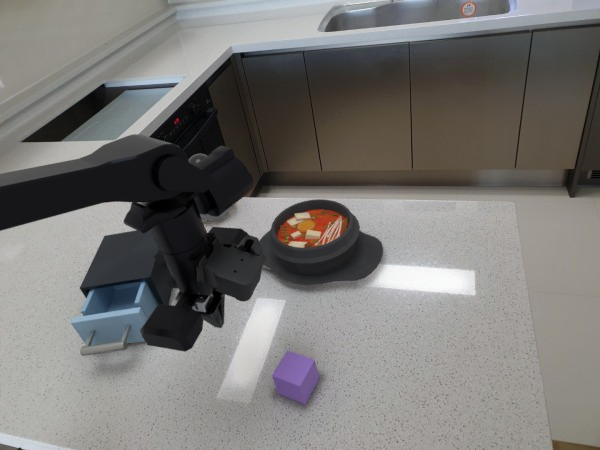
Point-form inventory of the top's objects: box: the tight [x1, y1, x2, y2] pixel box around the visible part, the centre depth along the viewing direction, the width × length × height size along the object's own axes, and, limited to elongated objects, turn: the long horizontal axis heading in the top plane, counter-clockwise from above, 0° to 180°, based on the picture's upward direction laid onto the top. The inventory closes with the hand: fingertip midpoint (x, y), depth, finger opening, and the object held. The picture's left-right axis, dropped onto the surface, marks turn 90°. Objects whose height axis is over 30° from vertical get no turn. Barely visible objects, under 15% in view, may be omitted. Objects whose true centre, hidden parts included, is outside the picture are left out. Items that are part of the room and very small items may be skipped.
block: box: [271, 349, 320, 405], centre depth 65 cm, size 4×4×4 cm
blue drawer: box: [70, 281, 159, 357], centre depth 79 cm, size 18×11×7 cm, turn 2°
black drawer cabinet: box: [79, 230, 174, 305], centre depth 87 cm, size 15×13×9 cm
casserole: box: [259, 198, 384, 286], centre depth 85 cm, size 25×19×8 cm
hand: (219, 325), depth 63 cm, fingers closed
